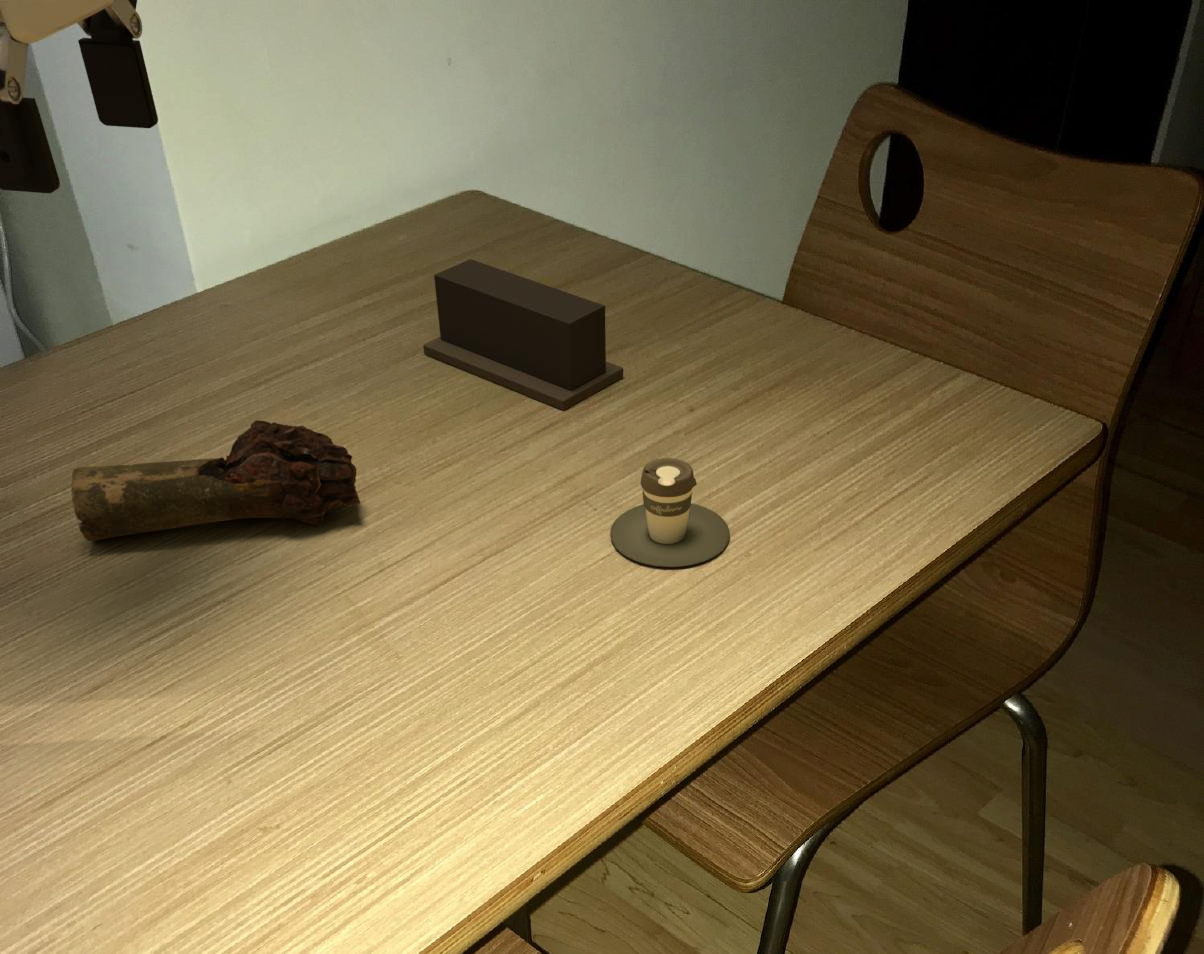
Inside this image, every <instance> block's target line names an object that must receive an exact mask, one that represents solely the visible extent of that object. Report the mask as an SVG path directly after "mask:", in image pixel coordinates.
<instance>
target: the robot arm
mask: <svg viewBox="0 0 1204 954" xmlns="http://www.w3.org/2000/svg"><path fill="white" fill-rule="evenodd" d="M137 5H138V0H0V190H2V191H12V192H23V193H24V192H25V193H38V194H53V193H54V192H56V191H57V190H58V189H59V188H60V187H61V183H60V178H59V174H58V171H57V167H56V163H55V159H54V157H53V155H52V150H51V147H50V143H49V140H48V137H47V133H46V130H45V126H44V123H43V120H42V116H41V112H40V110H39V107H38V104H37V101H36V98H35V97H24V92H25V82H26V81H25V80H26V70H27V61H28V60H27V59H28V51H29V50H28V49H29V44H34V43H37V42H40V41H42V40H45V39H47V38H49V37H50V36H53V35H55V34H57V33H59V32H62V31H64V30H66V29H67V28H70V27H71V26H74V25H76V24H77V25H78V26H79V27H80V29H81V30H82V31H83V33H84V34H85V35H86V36H87V37H81V38H80V39H78V40H77V41H78V46H79V50H80V54H81V58H82V62H83V65H84V68H85V69H84V70H85V73H86V76H87V80H88V84H89V88H90V92H91V95H92V99H93V102H94V103H93V104H94V106H95V109H96V113H97V118H98V120H99V122H100V123H101V124H102V125H104V126H107V127H119V128H120V127H121V128H134V129H135V128H137V129H151V128H153V127H155V126H156V125H157V124H158V123H159V117H158V113H157V109H156V104H155V100H154V95H153V91H152V87H151V83H150V79H149V74H148V70H147V65H146V61H145V57H144V53H143V49H142V45H141V40H138V39H140V38H141V37H142V35H143V22H142V19H141V16H140V14H139V13H138V11H137ZM134 39H135V40H134ZM136 39H137V40H136Z"/></svg>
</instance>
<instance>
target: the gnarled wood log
mask: <svg viewBox="0 0 1204 954" xmlns="http://www.w3.org/2000/svg"><path fill="white" fill-rule="evenodd" d="M352 459H353V456H352V454H350V453H349V451H348V449H347V448H346V447H344V446H341V445H337V444H334V443H333V441H332V438H330V437H329V435H327V434H324V433H322V432H317V431H314V430H312V429H310V428H307V427H305V426H304V425H298V426H297V425H288V424H281V423H277V422H270V421H269V422H268V421H266V420H257V419H256V420H254V421H253V422H252V423H250V427H249V428H248V429H246V430H245V431H244V432H243V433H242V434H240V435H238V436H237V438H236V439H235V440H234V442H233V443H232V445H231V449H230V452H229V454H228V455H226V458H224V457H223V456H222V457H216V458H214V457H213V458H198V459H188V460H187V459H186V460H173V461H157V462H155V461H154V462H144V463H142V462H141V463H134V464H133V463H132V464H117V465H104V466H103V465H102V466H100V465H99V466H84V467H78V468H74V469H73V470H72V473H71V484H70V485H71V486H70V488H71V490H70V493H71V494H70V495H71V503H72V509H73V511H74V515H75V518H76V520H77V521H80V522H79V523H77V525H78V527H79V531H80V533H81V534H82V535H83V537H84V538H85V540H86V541H89V542H90V541H100V540H105V539H111V538H115V537H122V536H129V535H136V534H137V535H138V534H144V533H150V532H158V531H164V530H172V529H176V528H177V529H178V528H182V527H183V528H184V527H189V526H196V525H201V524H202V525H203V524H210V523H217V522H224V521H225V522H226V521H231V520H239V519H240V520H241V519H269V518H271V519H282V520H286V519H294V520H297V521H298V522H303V523H307V524H311V525H315V526H323V524H324V515H325V513H327V512H328V510H330V509H331V508H332V507H337V506H339V505H342V504H344V505H345V506H347V507H351V506H352V507H355V506H358V505H360V504H361V501H360V497H359V494H358V491H357V487H356V485H355V484H356V482H357V479H356V478H357V467H356V465H354V464H353V463H352Z"/></svg>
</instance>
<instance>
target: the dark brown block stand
mask: <svg viewBox="0 0 1204 954" xmlns="http://www.w3.org/2000/svg"><path fill="white" fill-rule="evenodd" d="M433 277H434V287H435V297H436V308H437V316H438V325H439V334H440V335H439V337H437V338H434V339H432V340H431V341H428V342H426V343H424V344H423V345H422V346H423V347H422V348H423V354H424V355H425V356H429V357H431V358H433V359H436V360H439V361H440V362H443V363H445V364H448V365H450V366H453V367H455V368H458V369H460V370H463V371H465V372H468V373H470V374H473V375H475V376H478V377H480V378H483V379H485V380H487V381H490V382H493V383H494V384H497V385H500V386H502V387H504V388H507V389H509V390H512V391H515V392H517V393H519V394H522V395H524V396H527V397H529V398H532V399H534V400H537V401H539V402H541V403H544V404H546V405H549V406H552V407H554V408H556V409H559V410H562V411H565V410H567V409H569V408H571V407H573V406H574V405H576V404H578V403H580V402H581V401H583V400H584V399H587V398H588V397H591V396H593V395H594V394H596V393H597V392H599V391H601V390H603V389H605V388H606V387H608V386H610V385H611V384H613V383H615V382H617V381H619V380H620V379H623V378H624V367H622V366H619V365H617V364H613V363H611V362H609V361H607V353H606V352H607V351H606V350H607V348H606V347H607V345H606V342H607V341H606V340H607V339H606V305H604V304H601V303H598V302H597V301H596V302H595V301H592V300H590V299H587V298H584V297H582V296H578V295H575V294H572V293H570V292H567V291H564V290H561V289H558V288H555V287H553V286H550V285H546V284H544V283H541V282H539V281H535V280H532V279H529V278H526V277H525V276H524V277H523V276H521V275H518V274H515V273H512V272H509V271H506V270H504V269H500V268H497V267H495V266H492V265H490V264H486V263H483V262H481V261H477V260H474V259H473V258H469V259H466V260H464V261H462V262H460V263H458V264H456V265H453V266H450V267H449V268H446V269H443V270H442V271H439V272H437V273H435V274H434V275H433Z"/></svg>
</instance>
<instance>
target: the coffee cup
mask: <svg viewBox="0 0 1204 954" xmlns="http://www.w3.org/2000/svg"><path fill="white" fill-rule="evenodd" d="M697 484H698V483H697V479H696V478H695V475H694V469H693V467H692V466H691V464H690V463H688V462H687V461H684V460H682V459H679V458H675V457H663V458H657V459H653V460H651V461H649V462H647V463H646V464H645V465H644V466H643V469H642V472H641V478H640V486H641V488H642V502H643V504H640V505H637V506H634V507H632V508H630V509H628V510H626V511H624V512H623V513H622V514H620V515H619V516H618V517H617V518H615V520H614V522H613V523H612V525H611V526H610V532H609V536H610V541H611V542H612V545H613V547H614V548H615V550H616V551H617V552H618V553H619V554H620V555H621V556H622V557H624V558H626V559H628V560H630V561H632V562H635V563H637V564H641V565H643V566H649V567H656V568H662V569H667V568H668V569H673V568H676V569H677V568H687V567H688V568H689V567H693V566H697V565H701V564H703V563H706V562H708V561H710V560H713V559H714V558H716V557H717V556H719V555H720V554H721V553H722V552H723V551H724V550H725V548H726V547H727V546H728V544H729V541H730V537H731V536H730V533H731V532H730V529H729V526H728V523H727V522H726V520H725V519H724V518H722V516H721V515H719V514H718V513H717V512H715V511H713V510H711V509H710V508H708V507H705V506H702V505H700V504H696V503H692V497H693V488H694V487H696V486H697Z"/></svg>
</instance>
